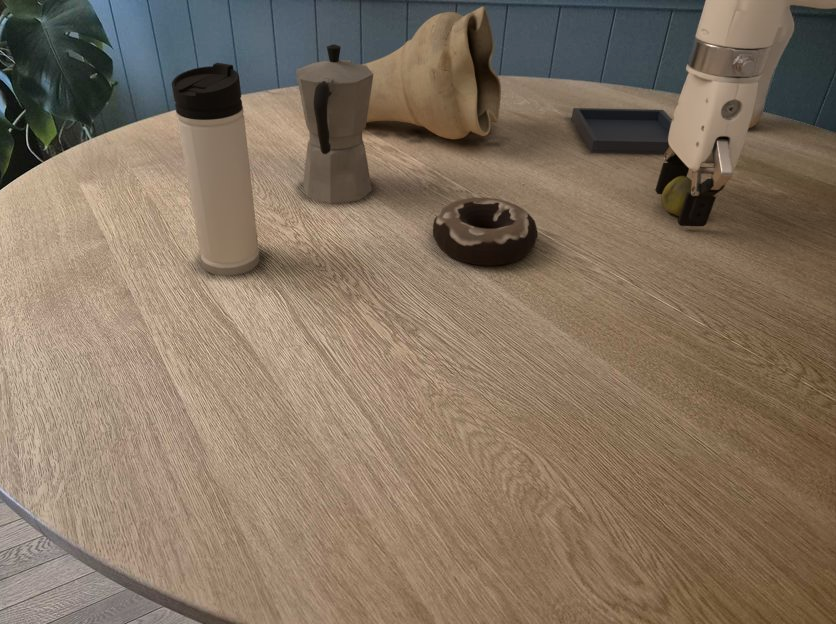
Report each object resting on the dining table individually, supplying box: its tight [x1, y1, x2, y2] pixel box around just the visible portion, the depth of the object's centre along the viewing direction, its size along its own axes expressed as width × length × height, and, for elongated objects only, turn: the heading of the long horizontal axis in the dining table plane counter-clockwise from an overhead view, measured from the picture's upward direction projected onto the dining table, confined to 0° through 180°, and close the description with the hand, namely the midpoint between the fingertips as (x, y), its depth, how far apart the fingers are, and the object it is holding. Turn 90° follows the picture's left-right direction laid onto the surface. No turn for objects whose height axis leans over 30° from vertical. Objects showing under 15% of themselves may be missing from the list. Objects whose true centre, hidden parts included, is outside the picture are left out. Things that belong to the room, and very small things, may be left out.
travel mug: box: [171, 62, 261, 277], centre depth 66 cm, size 6×7×20 cm
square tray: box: [570, 107, 673, 155], centre depth 103 cm, size 15×15×2 cm
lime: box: [661, 176, 692, 217], centre depth 81 cm, size 4×5×5 cm
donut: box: [432, 197, 538, 267], centre depth 75 cm, size 12×12×4 cm
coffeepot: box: [295, 43, 374, 205], centre depth 81 cm, size 15×9×18 cm, turn 171°
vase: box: [362, 6, 502, 140], centre depth 101 cm, size 22×22×28 cm
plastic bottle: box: [748, 5, 795, 129], centre depth 101 cm, size 6×7×20 cm
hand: (679, 207), depth 82 cm, fingers open, 8 cm apart
